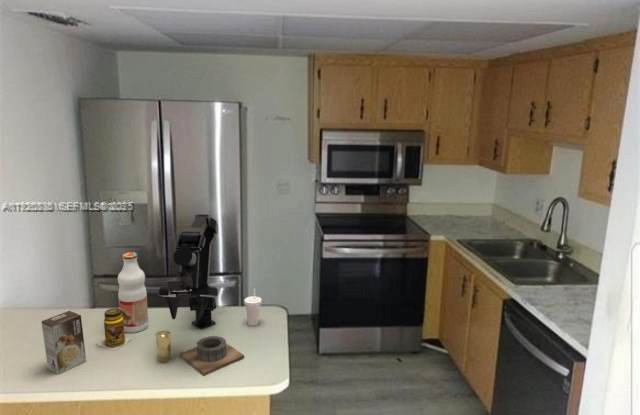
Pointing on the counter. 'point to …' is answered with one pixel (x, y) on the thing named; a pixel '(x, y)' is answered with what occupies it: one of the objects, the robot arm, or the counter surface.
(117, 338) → the condiment
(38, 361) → the counter surface
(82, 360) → the coffee box
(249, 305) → the smoothie
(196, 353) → the ring socket
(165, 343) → the brass pin
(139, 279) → the fruit juice
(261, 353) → the counter surface
